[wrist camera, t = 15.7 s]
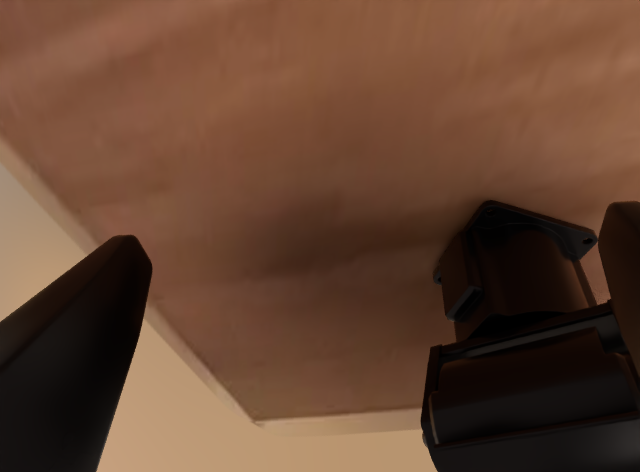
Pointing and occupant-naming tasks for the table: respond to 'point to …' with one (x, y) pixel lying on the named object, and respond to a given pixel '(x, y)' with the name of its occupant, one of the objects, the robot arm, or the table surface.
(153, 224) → the table surface
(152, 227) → the table surface
